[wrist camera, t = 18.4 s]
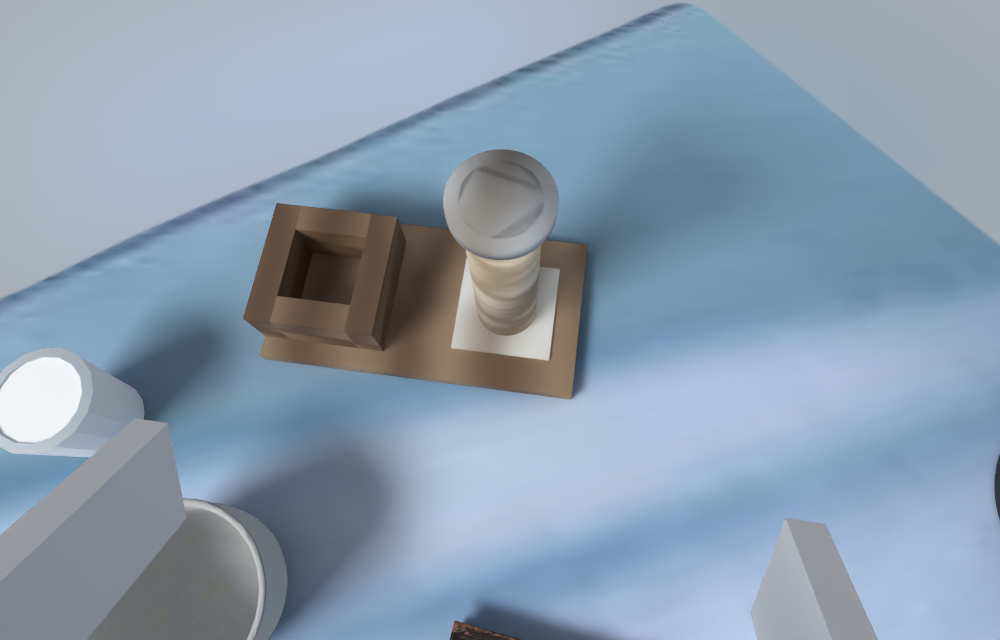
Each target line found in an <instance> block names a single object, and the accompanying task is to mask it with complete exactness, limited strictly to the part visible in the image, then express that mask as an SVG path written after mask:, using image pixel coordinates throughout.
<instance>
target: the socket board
mask: <svg viewBox="0 0 1000 640" xmlns="http://www.w3.org/2000/svg"><path fill="white" fill-rule="evenodd" d="M587 246H588V245H585V244H576V243H567V242H559V241H550V240H545V242H544V243H543V244H542V245H541V254H540V268H539V281H538V294H537V307H536V315H535V318H534V320H533V322H532V323H531V325H530V326H529V327H528V328H527V329H525V330H524V331H522V332H520V333H518V334H515V335H511V336H503V335H498V334H495V333H493V332H491V331H489V330H488V329H487V328H486V327H485V326H484V325H483V324H482V322H481V321H480V319H479V316H478V311H477V306H476V301H475V296H474V290H473V285H472V280H471V275H470V269H469V264H468V259H467V254H466V249H465V248H463V247H462V246H461V245H460V244H459V243H458V242H457V241H456V240H455V238H454V237H453V235H452V234H451V232H450V230H449V229H444V228H435V227H427V226H418V225H409V224H400V223H399V220H398V218H397V217H395V216H386V215H377V214H368V213H359V212H351V211H342V210H333V209H324V208H315V207H306V206H297V205H289V204H280V203H277V204H276V207H275V211H274V214H273V218H272V221H271V224H270V228H269V231H268V235H267V238H266V242H265V245H264V248H263V252H262V255H261V259H260V262H259V266H258V269H257V272H256V276H255V279H254V283H253V286H252V290H251V293H250V297H249V300H248V303H247V307H246V310H245V314H244V317H243V319H245V320H246V321H247V322H248V323H250V324H251V325H252V326H253V327H255V328H256V329H257V330H258V331H260V332H261V333H262V334H263V335H265V340H264V343H263V347H262V351H261V354H260V356H262V357H263V358H265V359H269V360H276V361H284V362H291V363H299V364H307V365H314V366H322V367H329V368H337V369H344V370H352V371H360V372H367V373H375V374H382V375H390V376H397V377H405V378H413V379H420V380H428V381H435V382H443V383H451V384H458V385H466V386H473V387H481V388H488V389H496V390H504V391H511V392H519V393H526V394H534V395H542V396H549V397H557V398H564V399H571V397H572V389H573V380H574V370H575V360H576V351H577V341H578V332H579V322H580V313H581V303H582V294H583V284H584V275H585V265H586V256H587Z"/></svg>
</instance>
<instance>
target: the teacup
mask: <svg viewBox="0 0 1000 640" xmlns="http://www.w3.org/2000/svg"><path fill="white" fill-rule="evenodd" d="M183 503H184V508H185V513H186V519H185V521H184V522H183V523H182V524H181V525H180V527H179V528H178V529H177V530H176V532H175V533H174V534H173V535H172V536H171V538H170V539H169V540H168V541H167V542H166V544H165V545H164V546H163V547H162V549H161V550H160V551H159V552H158V553H157V555H156V556H155V557H154V558H153V560H152V561H151V562H150V563H149V564H148V566H147V567H146V568H145V569H144V571H143V572H142V573H141V574H140V575H139V577H138V578H137V579H136V580H135V581H134V583H133V584H132V585H131V586H130V588H129V589H128V590H127V591H126V592H125V594H124V595H123V596H122V597H121V599H120V600H119V601H118V602H117V603H116V605H115V606H114V607H113V608H112V610H111V611H110V612H109V613H108V614H107V616H106V617H105V618H104V619H103V621H102V622H101V623H100V624H99V625H98V627H97V628H96V629H95V630H94V631H93V633H92V634H91V635H90V636H89V638H88V639H87V640H268V639H269V638H270V636H271V635H272V633H273V631H274V630H275V628H276V626H277V624H278V622H279V619H280V617H281V614H282V611H283V608H284V604H285V600H286V594H287V585H288V580H287V568H286V562H285V558H284V555H283V552H282V550H281V547H280V545H279V543H278V541H277V540H276V538H275V536H274V535H273V533H272V532H271V531H270V530H269V529H268V528H267V526H265V525H264V524H263V523H262V522H261V521H260V520H259V519H257V518H256V517H254V516H253V515H251V514H249V513H247V512H245V511H243V510H241V509H238V508H235V507H232V506H228V505H223V504H217V503H210V502H207V501H203V500H197V499H186V498H183Z"/></svg>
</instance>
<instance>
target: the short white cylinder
mask: <svg viewBox="0 0 1000 640" xmlns="http://www.w3.org/2000/svg"><path fill="white" fill-rule="evenodd" d="M144 415H145V411H144V405H143V399H142V398H141V397H140V395H139V394H138V392H137V391H136V390H135V389H134V388H133V387H131V386H129V385H127V384H126V383H124V382H122V381H120V380H119V379H117V378H115V377H114V376H112V375H110V374H108V373H107V372H105V371H103V370H101V369H100V368H98V367H96V366H95V365H93V364H91V363H89V362H88V361H86V360H84V359H82V358H81V357H79V356H77V355H75V354H73V353H71V352H69V351H67V350H65V349H56V348H42V349H39V350H36V351H33V352H30V353H27V354H24V355H22V356H21V357H19V358H18V359H17V360H15V361H14V362H13V363H11V364H10V365H8V366H7V367H6V368H4V370H3V371H2V372H1V374H0V447H2V448H3V449H5V450H7V451H9V452H11V453H16V454H36V455H56V456H77V457H91V456H92V455H93V454H95V453H96V452H97V451H98V450H99V449H100V448H102V447H103V446H104V445H105V444H106V443H107V442H108V441H110V440H111V439H112V438H113V437H114V436H115V435H117V434H118V433H119V432H120V431H121V430H122V429H123V428H125V427H126V426H127V425H128V424H129V423H130V422H132V421H133V420H134V419H135V418H138V419H144Z"/></svg>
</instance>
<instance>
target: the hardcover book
mask: <svg viewBox="0 0 1000 640" xmlns="http://www.w3.org/2000/svg"><path fill="white" fill-rule="evenodd" d="M450 640H520V639H516V638H513V637H509V636H506V635H503V634H499V633H496V632H492V631H489V630H485V629H482V628H479V627H475V626H472V625H468V624H465V623H461V622H458V621H455V622H454V625H453V629H452V633H451V637H450Z"/></svg>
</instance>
